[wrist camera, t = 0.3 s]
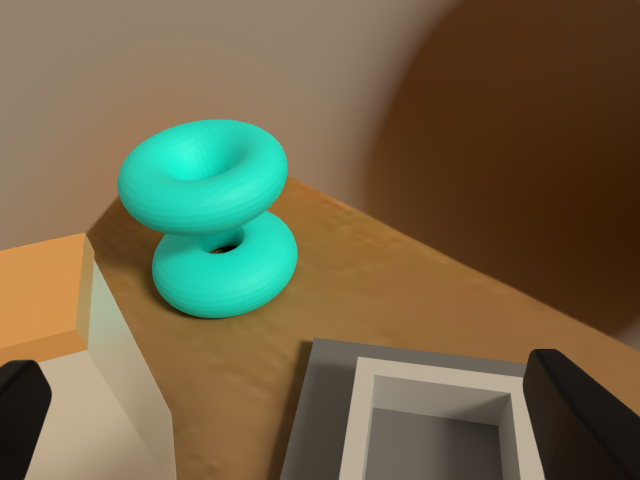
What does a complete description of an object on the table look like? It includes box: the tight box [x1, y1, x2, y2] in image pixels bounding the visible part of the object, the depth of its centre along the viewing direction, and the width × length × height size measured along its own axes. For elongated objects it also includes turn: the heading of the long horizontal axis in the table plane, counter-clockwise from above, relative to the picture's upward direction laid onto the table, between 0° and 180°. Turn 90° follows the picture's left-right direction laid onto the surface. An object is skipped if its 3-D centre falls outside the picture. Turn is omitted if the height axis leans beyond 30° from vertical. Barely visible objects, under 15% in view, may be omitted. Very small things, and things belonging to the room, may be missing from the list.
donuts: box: [118, 119, 297, 318], centre depth 31 cm, size 10×10×10 cm
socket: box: [280, 338, 546, 480], centre depth 21 cm, size 14×14×4 cm
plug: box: [0, 232, 177, 480], centre depth 20 cm, size 5×5×13 cm
